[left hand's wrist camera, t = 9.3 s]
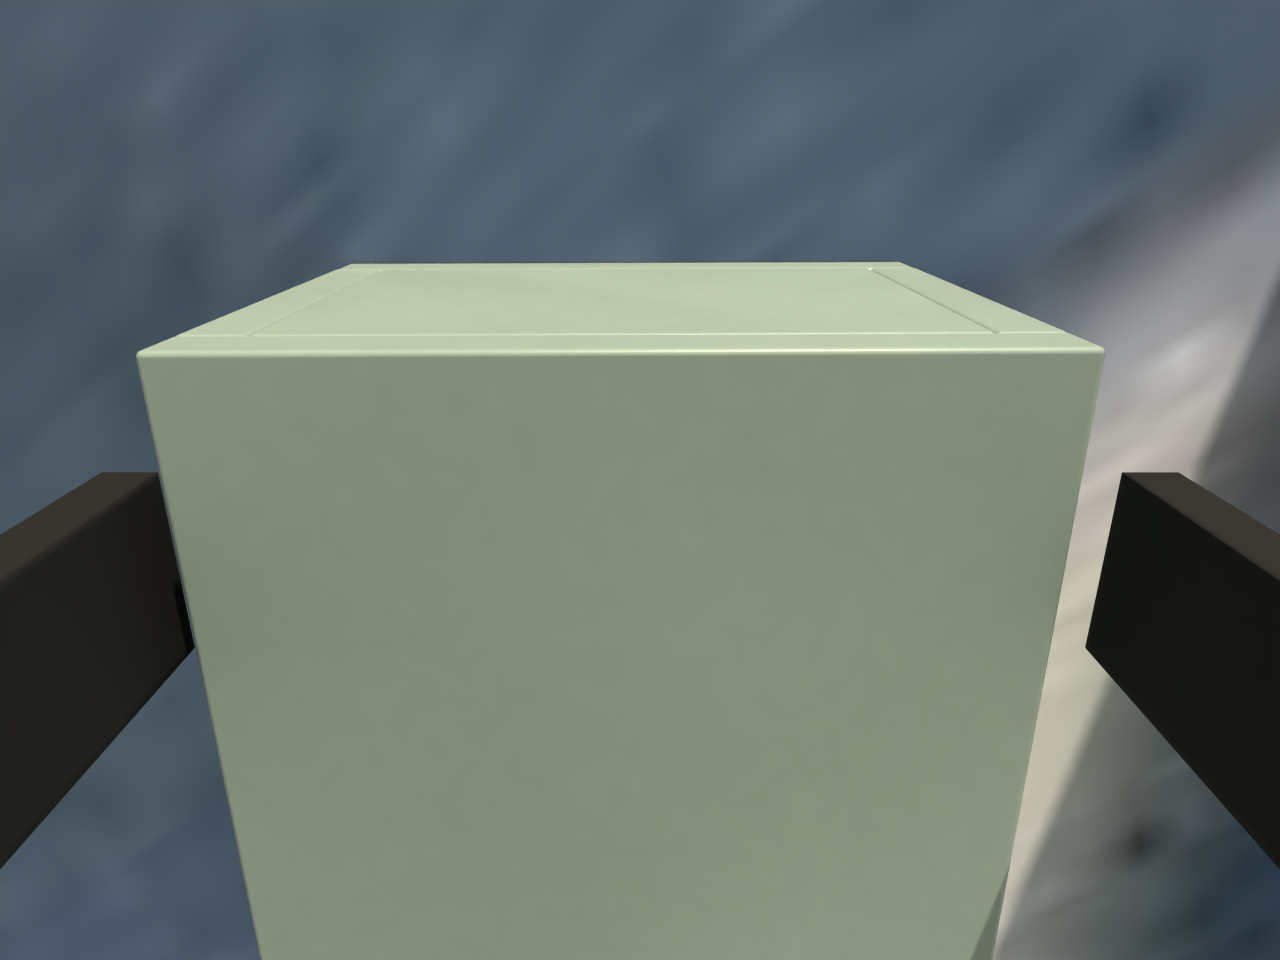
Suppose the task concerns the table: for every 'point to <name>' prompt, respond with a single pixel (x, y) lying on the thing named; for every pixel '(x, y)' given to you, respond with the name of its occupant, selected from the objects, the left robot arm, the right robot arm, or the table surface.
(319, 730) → the cabinet
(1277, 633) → the left robot arm
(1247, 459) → the table surface
